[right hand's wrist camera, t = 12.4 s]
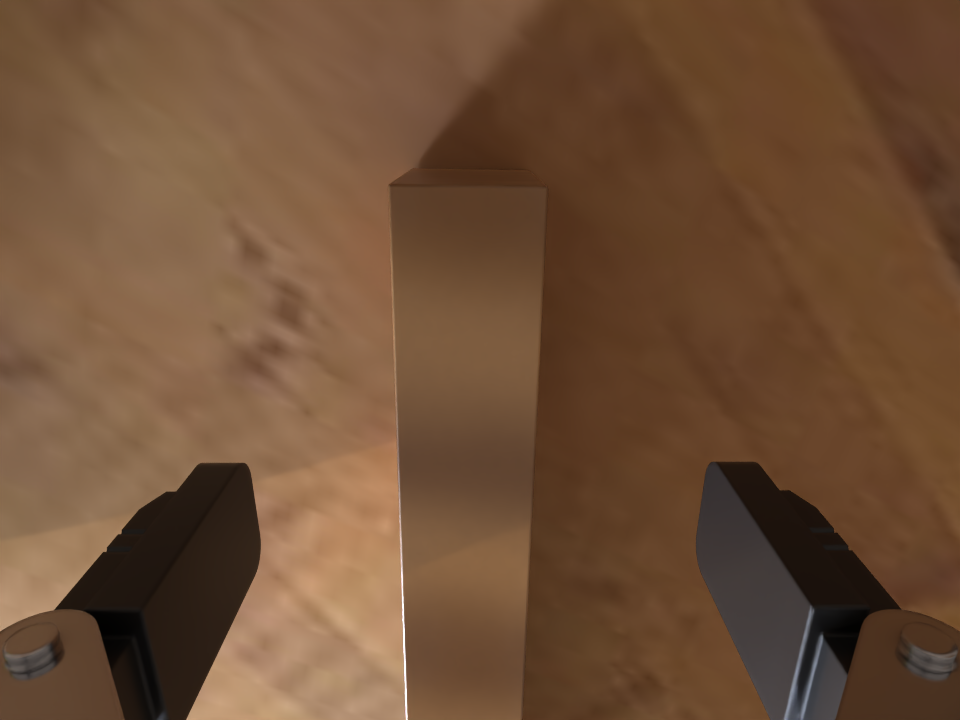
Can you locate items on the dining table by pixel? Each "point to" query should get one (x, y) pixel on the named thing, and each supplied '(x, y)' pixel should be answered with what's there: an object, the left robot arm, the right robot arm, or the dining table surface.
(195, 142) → the dining table surface
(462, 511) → the beam
